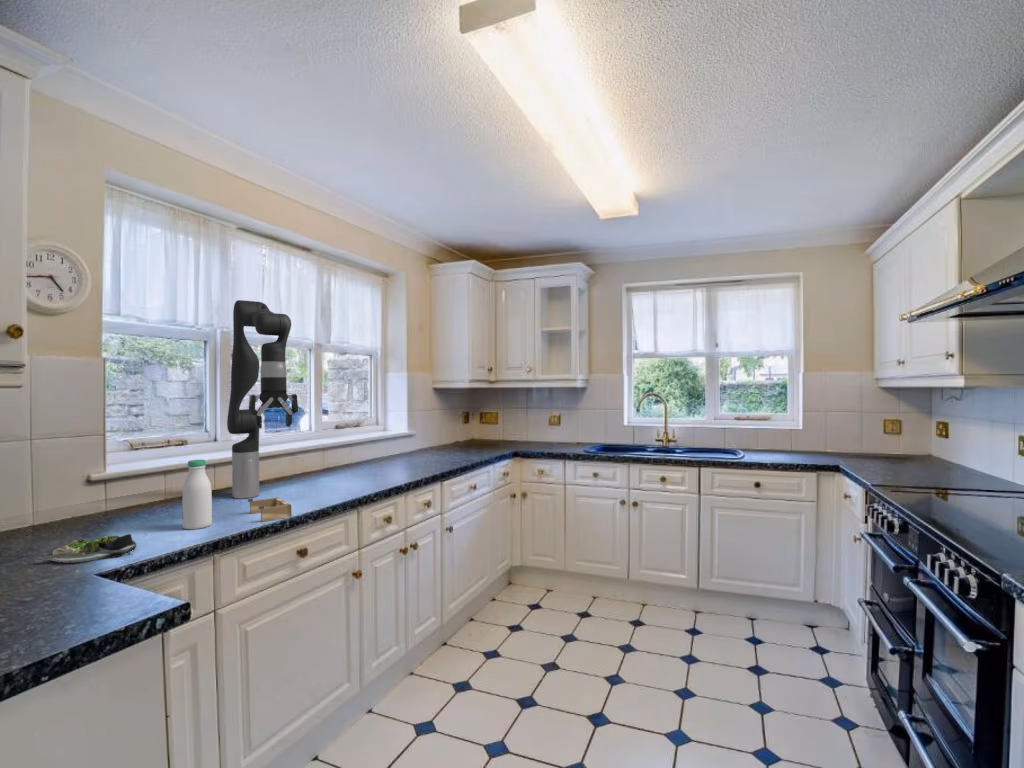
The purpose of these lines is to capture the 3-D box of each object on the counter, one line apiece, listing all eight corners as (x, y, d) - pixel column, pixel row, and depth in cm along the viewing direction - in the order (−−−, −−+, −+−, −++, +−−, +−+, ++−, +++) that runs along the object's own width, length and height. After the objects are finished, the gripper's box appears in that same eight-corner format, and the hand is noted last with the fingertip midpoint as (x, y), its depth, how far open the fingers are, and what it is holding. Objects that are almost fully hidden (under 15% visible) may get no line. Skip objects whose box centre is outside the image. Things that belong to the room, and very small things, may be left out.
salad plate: (39, 574, 122) (39, 554, 122) (36, 556, 136) (36, 537, 136) (141, 555, 136) (141, 537, 136) (129, 540, 149) (129, 523, 149)
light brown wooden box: (248, 513, 177) (247, 499, 177) (277, 509, 183) (277, 495, 183) (260, 522, 166) (259, 506, 166) (291, 517, 172) (291, 502, 172)
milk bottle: (217, 524, 163) (217, 459, 163) (193, 531, 156) (192, 462, 156) (201, 522, 167) (200, 458, 167) (176, 528, 160) (175, 461, 160)
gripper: (292, 376, 177) (293, 425, 177) (246, 376, 168) (246, 427, 168) (300, 376, 171) (300, 426, 171) (252, 376, 162) (253, 429, 162)
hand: (274, 427), depth 170 cm, fingers open, 8 cm apart
